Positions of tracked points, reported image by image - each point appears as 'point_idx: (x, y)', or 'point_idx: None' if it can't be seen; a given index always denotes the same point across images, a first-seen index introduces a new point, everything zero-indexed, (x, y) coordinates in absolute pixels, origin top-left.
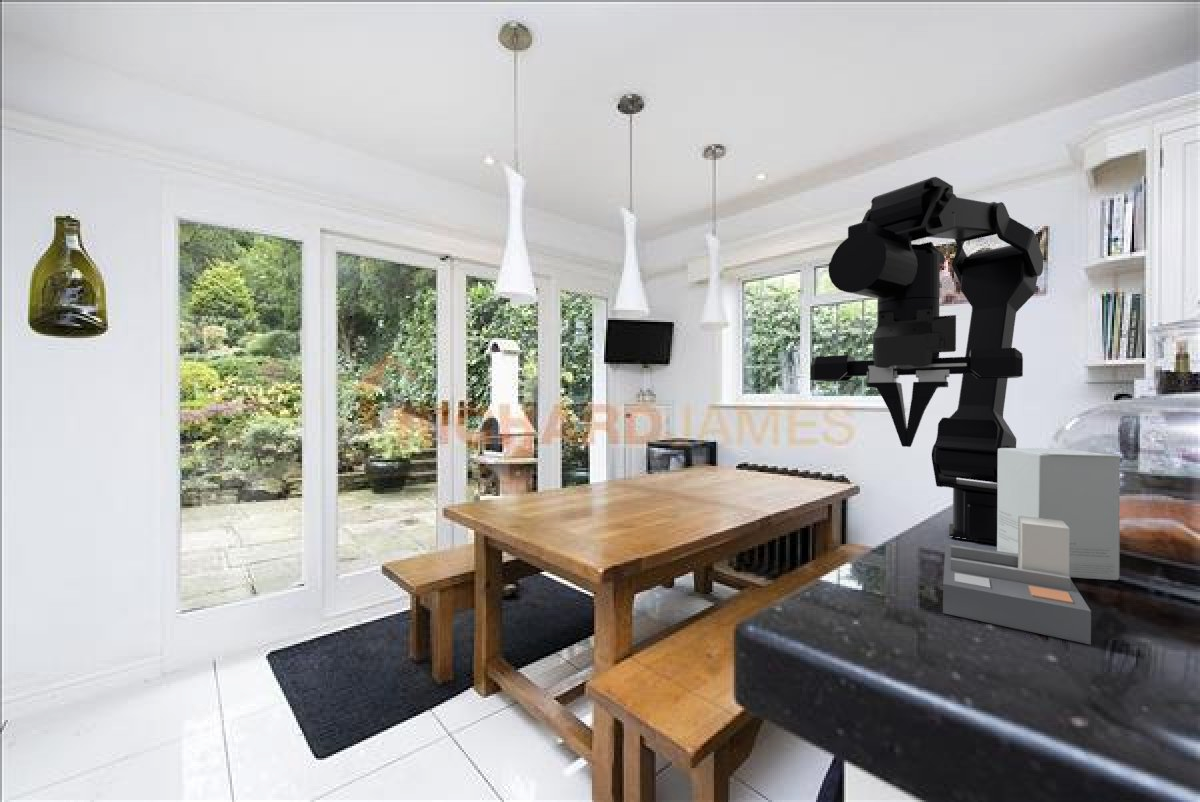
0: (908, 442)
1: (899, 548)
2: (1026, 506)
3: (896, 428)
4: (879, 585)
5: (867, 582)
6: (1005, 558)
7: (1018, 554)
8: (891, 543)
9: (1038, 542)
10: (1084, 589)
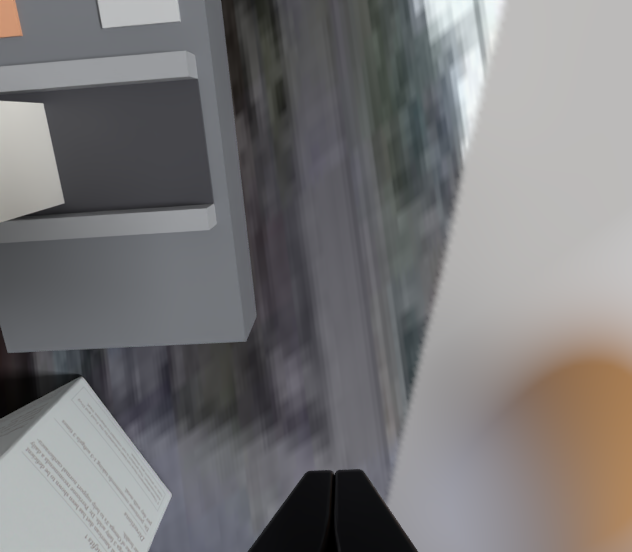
0: (318, 481)
1: (373, 408)
2: (15, 520)
3: (412, 550)
4: (372, 35)
5: (403, 38)
6: (83, 214)
7: (40, 197)
8: (398, 443)
9: None
10: None
